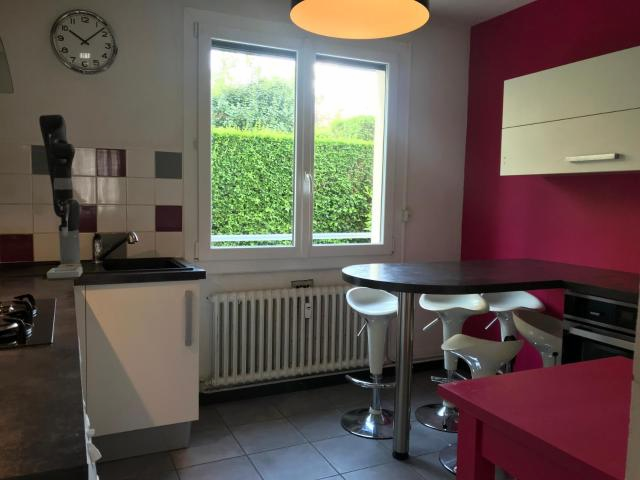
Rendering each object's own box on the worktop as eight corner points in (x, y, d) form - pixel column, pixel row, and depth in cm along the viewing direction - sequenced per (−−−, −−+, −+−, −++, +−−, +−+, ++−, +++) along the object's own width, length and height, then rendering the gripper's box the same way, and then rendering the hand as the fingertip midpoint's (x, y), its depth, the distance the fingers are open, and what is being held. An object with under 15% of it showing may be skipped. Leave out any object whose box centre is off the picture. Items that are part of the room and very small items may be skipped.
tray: (52, 275, 237) (52, 268, 236) (82, 274, 240) (82, 267, 240) (47, 280, 225) (46, 272, 224) (78, 279, 229) (78, 271, 228)
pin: (62, 236, 238) (61, 214, 237) (68, 236, 239) (67, 214, 238) (61, 236, 235) (60, 214, 234) (67, 236, 236) (67, 214, 235)
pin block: (60, 271, 247) (60, 264, 246) (81, 271, 250) (81, 263, 249) (57, 275, 238) (56, 267, 238) (78, 274, 241) (78, 266, 241)
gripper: (57, 188, 240) (58, 226, 242) (51, 188, 227) (52, 228, 229) (75, 188, 243) (76, 226, 244) (70, 188, 229) (71, 228, 231)
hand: (64, 227), depth 236 cm, fingers closed on pin, 2 cm apart
